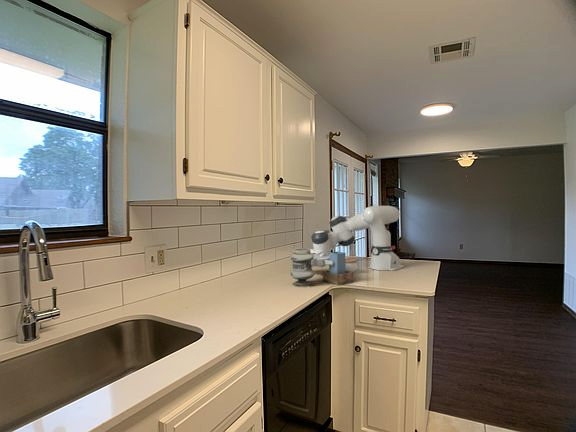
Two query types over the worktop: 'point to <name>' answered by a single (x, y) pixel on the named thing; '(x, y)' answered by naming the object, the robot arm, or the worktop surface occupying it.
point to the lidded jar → (351, 264)
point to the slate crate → (337, 263)
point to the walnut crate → (338, 278)
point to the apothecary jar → (302, 266)
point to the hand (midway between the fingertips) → (338, 262)
